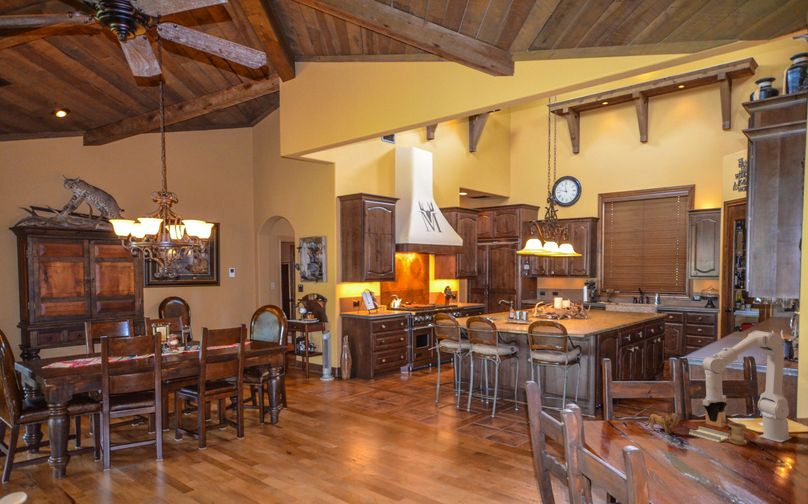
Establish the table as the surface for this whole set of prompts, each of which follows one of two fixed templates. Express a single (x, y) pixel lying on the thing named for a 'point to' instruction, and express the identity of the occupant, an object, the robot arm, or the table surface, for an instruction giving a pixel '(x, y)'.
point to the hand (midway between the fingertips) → (715, 420)
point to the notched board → (710, 434)
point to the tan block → (719, 421)
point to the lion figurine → (664, 421)
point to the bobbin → (737, 433)
